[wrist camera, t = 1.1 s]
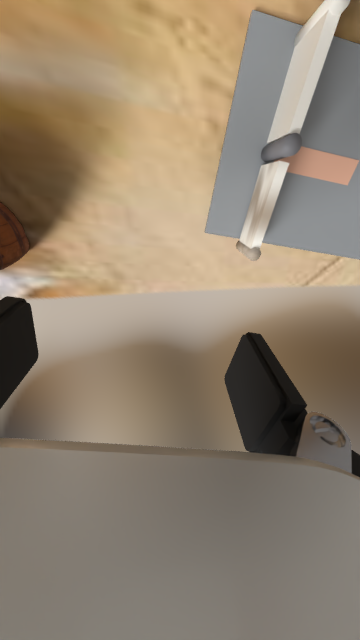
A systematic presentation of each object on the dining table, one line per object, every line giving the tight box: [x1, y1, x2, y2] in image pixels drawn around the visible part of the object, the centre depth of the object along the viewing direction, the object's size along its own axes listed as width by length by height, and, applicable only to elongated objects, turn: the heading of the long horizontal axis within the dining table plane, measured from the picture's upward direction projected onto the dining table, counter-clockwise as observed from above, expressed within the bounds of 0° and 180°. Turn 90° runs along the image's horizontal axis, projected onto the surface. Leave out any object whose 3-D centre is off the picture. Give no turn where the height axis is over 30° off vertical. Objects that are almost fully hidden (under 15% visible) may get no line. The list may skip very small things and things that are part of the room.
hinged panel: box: [236, 161, 289, 261], centre depth 24 cm, size 9×1×5 cm, turn 170°
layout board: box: [205, 0, 360, 259], centre depth 22 cm, size 18×24×6 cm
